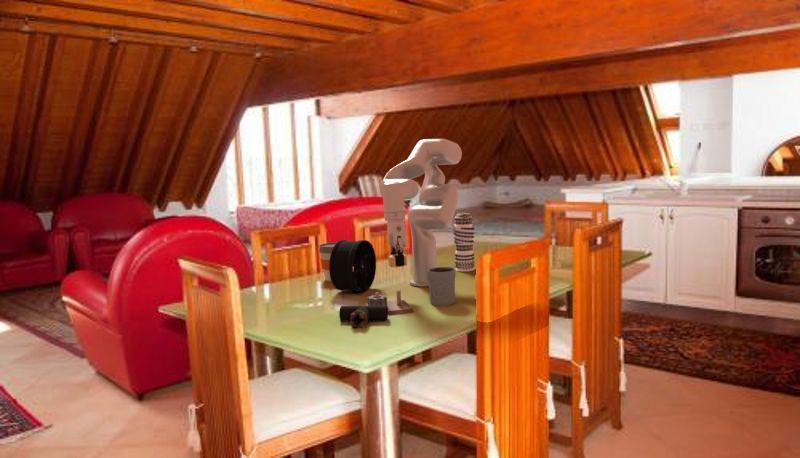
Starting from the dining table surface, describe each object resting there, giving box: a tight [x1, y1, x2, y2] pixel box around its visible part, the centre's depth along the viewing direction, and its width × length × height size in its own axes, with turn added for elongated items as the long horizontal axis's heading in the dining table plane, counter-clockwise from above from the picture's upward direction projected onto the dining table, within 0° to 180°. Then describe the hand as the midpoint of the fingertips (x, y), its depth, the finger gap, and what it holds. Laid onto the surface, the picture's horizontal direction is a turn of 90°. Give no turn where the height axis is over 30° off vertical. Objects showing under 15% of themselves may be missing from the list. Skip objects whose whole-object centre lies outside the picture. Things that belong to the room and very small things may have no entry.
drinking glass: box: [427, 266, 456, 306], centre depth 226 cm, size 10×10×12 cm
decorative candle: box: [453, 212, 475, 272], centre depth 282 cm, size 9×9×25 cm
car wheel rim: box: [329, 239, 377, 293], centre depth 250 cm, size 20×10×20 cm, turn 156°
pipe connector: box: [338, 305, 389, 328], centre depth 205 cm, size 12×5×15 cm
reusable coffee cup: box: [318, 241, 338, 282], centre depth 274 cm, size 12×13×15 cm
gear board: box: [364, 289, 414, 316], centre depth 220 cm, size 14×13×6 cm
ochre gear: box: [387, 253, 408, 268], centre depth 235 cm, size 6×6×4 cm
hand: (397, 263), depth 236 cm, fingers closed on ochre gear, 6 cm apart
